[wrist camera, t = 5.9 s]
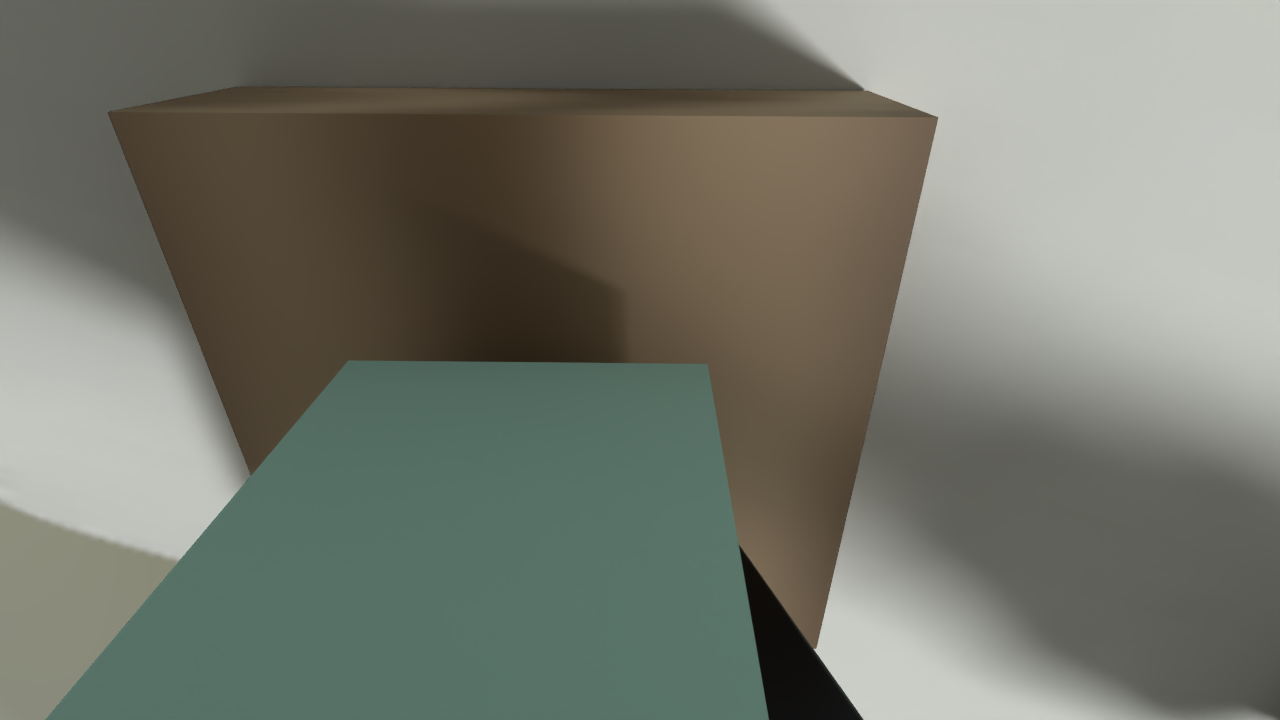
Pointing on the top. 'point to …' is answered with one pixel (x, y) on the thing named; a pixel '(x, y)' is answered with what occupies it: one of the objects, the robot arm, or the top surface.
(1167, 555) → the top surface
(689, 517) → the teal block
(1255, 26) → the top surface
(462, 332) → the walnut base
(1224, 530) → the top surface
